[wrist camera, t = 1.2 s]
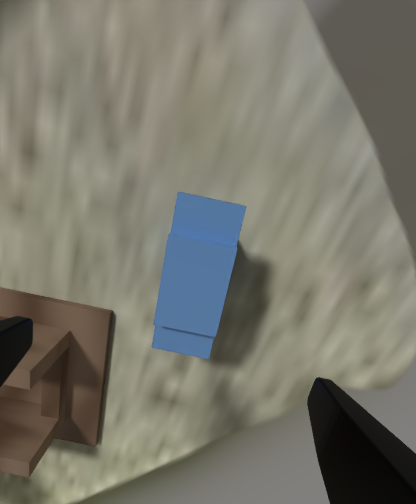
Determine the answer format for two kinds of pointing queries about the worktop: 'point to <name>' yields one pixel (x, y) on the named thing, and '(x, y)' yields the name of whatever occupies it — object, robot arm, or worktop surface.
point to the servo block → (196, 274)
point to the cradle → (52, 379)
